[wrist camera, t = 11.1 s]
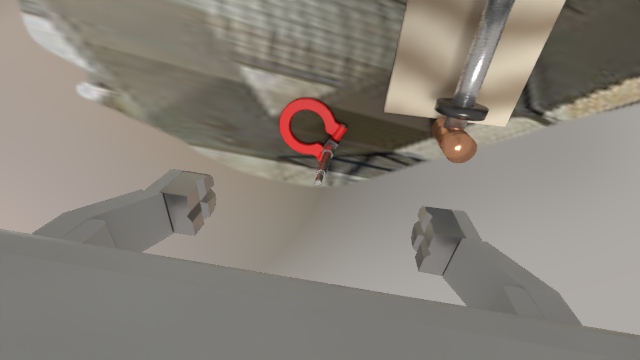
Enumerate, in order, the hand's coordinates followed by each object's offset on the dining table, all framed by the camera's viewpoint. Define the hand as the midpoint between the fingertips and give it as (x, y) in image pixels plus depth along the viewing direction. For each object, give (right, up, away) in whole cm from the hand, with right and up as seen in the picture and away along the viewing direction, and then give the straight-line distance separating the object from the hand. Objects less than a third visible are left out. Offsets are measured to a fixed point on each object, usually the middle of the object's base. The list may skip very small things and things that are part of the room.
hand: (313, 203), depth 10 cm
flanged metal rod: (+17, +14, +21) cm, 31 cm away
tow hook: (-1, +9, +29) cm, 31 cm away
